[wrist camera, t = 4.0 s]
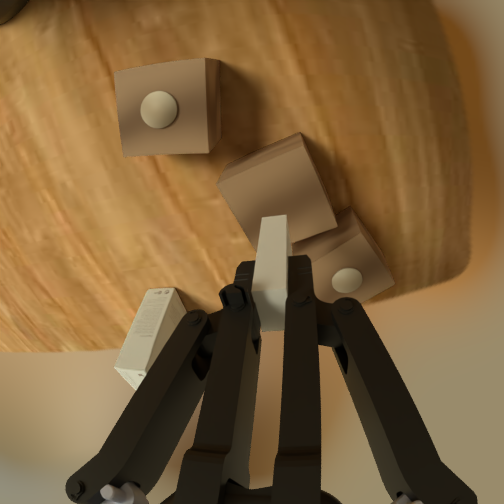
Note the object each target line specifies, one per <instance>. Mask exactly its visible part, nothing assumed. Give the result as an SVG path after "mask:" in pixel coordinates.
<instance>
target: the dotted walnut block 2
mask: <svg viewBox="0 0 504 504" xmlns="http://www.w3.org/2000/svg"><path fill="white" fill-rule="evenodd" d="M335 218H336V222H337V225H338V227H336V228H333V229H330V230H327V231H324V232H322V233H319V234H316V235H313V236H311V237H308V238H305V239H302V240H299V241H297V242H295V243H294V244H292V256H296V255H306V254H307V255H308V257H309V258H310V259H311V264H312V274H313V284H314V293H315V295H316V297H317V298H318V299H319V300H321V301H323V302H327V303H334V302H335V301H336V300H337V299H339V298H343V297H351V298H354V299H356V300H358V301H359V302H360V304H361V303H363V302H364V301H366V300H368V299H370V298H372V297H374V296H375V295H377V294H379V293H381V292H382V291H384V290H386V289H388V288H389V287H391V286H393V285H395V281H394V279H393V276H392V274H391V271H390V269H389V266H388V264H387V262H386V259H385V257H384V254H383V253H382V251H381V250H380V248H379V247H378V245H377V244H376V242H375V241H374V239H373V238H372V236H371V235H370V233H369V232H368V230H367V229H366V228H365V226H364V225H363V223H362V222H361V220H360V219H359V218H358V216H357V215H356V213H355V212H354V211H353V209H352V208H351V206H349V207H348V208H346V209H345V210H343V211H342V212H340V213H339V214H337V215H336V216H335Z"/></svg>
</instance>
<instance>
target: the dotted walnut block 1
mask: <svg viewBox="0 0 504 504" xmlns="http://www.w3.org/2000/svg"><path fill="white" fill-rule="evenodd" d="M114 79H115V92H116V103H117V112H118V121H119V129H120V137H121V144H122V151H123V157H134V156H148V155H166V154H193V153H209V152H210V151H211V150H212V149H213V148H214V146H215V145H216V144H217V143H218V142H219V141H220V139H221V138H222V133H221V100H220V60H216V59H210V58H197V59H187V60H179V61H171V62H164V63H157V64H151V65H145V66H140V67H135V68H130V69H125V70H120V71H116V72H114Z"/></svg>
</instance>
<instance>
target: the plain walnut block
mask: <svg viewBox="0 0 504 504" xmlns="http://www.w3.org/2000/svg"><path fill="white" fill-rule="evenodd" d="M216 185H217V187H218V189H219V190H220V192H221V194H222V195H223V197H224V199H225V200H226V202H227V204H228V205H229V207H230V209H231V211H232V212H233V214H234V216H235V217H236V219H237V221H238V222H239V224H240V226H241V227H242V229H243V231H244V232H245V234H246V236H247V238H248V239H249V241H250V243H251V244H252V246H253V248H254V249H255V251H256V253H257V248H258V241H259V235H260V228H261V221H262V217H270V216H278V215H287V222H288V228H289V235H290V241H291V243H294V242H297V241H299V240H302V239H305V238H308V237H311V236H313V235H316V234H319V233H322V232H324V231H327V230H330V229H333V228H336V227H338V225H337V222H336V218H335V215H334V212H333V208H332V205H331V202H330V199H329V197H328V194H327V192H326V189H325V187H324V185H323V182H322V180H321V177H320V175H319V173H318V170H317V168H316V166H315V164H314V161H313V159H312V157H311V155H310V152H309V150H308V148H307V146H306V144H305V141H304V139H303V137H302V135H301V133H300V132H299V133H296V134H294V135H291V136H289V137H287V138H284V139H282V140H280V141H277V142H275V143H273V144H270V145H268V146H266V147H264V148H261V149H259V150H257V151H255V152H252V153H250V154H248V155H246V156H244V157H242V158H239V159H237V160H235V161H233V162H231V163H229V164H227V166H226V167H225V169H224V171H223V173H222V174H221V176H220V178H219V180H218V181H217V183H216Z"/></svg>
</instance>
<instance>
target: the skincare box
mask: <svg viewBox="0 0 504 504" xmlns="http://www.w3.org/2000/svg"><path fill="white" fill-rule="evenodd" d="M186 313H187V312H186V310H185V308H184V306H183V304H182V302H181V300H180V297H179V295H178V293H177V291H176V289H175V288H156V289H149V290H148V291H147V292H146V294H145V296H144V299H143V301H142V303H141V305H140V307H139V310H138V312H137V314H136V316H135V318H134V321H133V323H132V325H131V328H130V330H129V332H128V334H127V337H126V339H125V342H124V344H123V346H122V349H121V351H120V354H119V356H118V359H117V361H116V364H115V366H114V368H115V369H116V370H117V371H118V372H119V373H120V374H121V376H122V377H123V378H124V379H125V380H126V381H127V382H128V383H129V384H130V385H131V386H132V387H133V388H134V389H135V390H137V389H138V387H139V385H140V384H141V382H142V380H143V379H144V377H145V376H146V374H147V372H148V371H149V369H150V368H151V366H152V364H153V363H154V361H155V360H156V358H157V356H158V355H159V353H160V352H161V350H162V349H163V347H164V345H165V344H166V342H167V341H168V339H169V338H170V336H171V334H172V333H173V331H174V330H175V328H176V327H177V325H178V323H179V322H180V320H181V319H182V317H183V316H184V315H185V314H186Z"/></svg>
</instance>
